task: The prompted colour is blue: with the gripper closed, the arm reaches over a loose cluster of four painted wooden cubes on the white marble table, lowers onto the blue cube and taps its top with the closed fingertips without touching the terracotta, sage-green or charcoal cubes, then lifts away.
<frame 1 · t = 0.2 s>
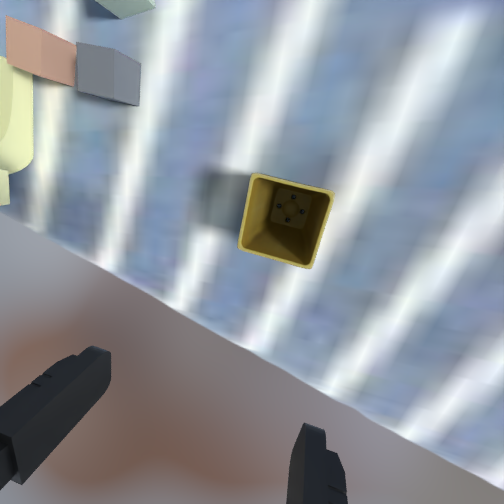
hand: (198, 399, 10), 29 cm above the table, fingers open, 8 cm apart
charcoal block: (123, 82, 35), on the table
flower pot: (289, 208, 36), on the table
terracotta block: (60, 60, 36), on the table
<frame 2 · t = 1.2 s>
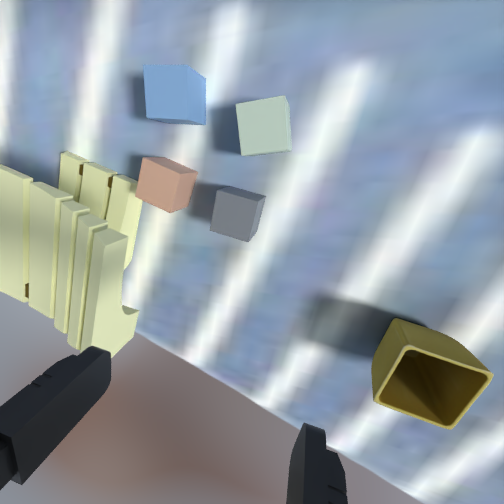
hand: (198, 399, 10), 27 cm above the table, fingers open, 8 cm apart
charcoal block: (243, 209, 35), on the table
blue block: (187, 101, 32), on the table
flower pot: (403, 336, 36), on the table
slatted curved stool: (100, 217, 41), on the table
terracotta block: (177, 182, 36), on the table
sage block: (269, 131, 32), on the table
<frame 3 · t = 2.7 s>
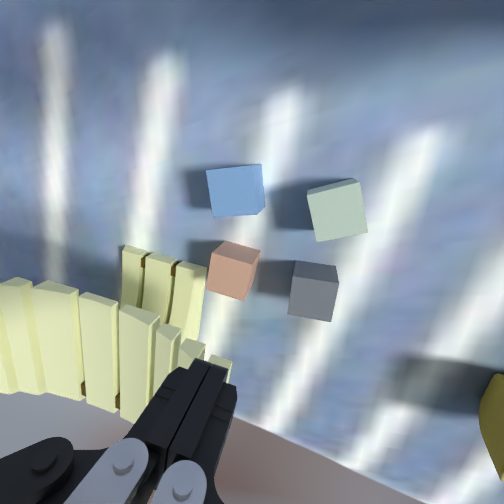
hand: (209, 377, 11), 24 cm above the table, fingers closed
charcoal block: (312, 280, 34), on the table
blue block: (243, 187, 32), on the table
slatted curved stool: (162, 301, 41), on the table
terracotta block: (239, 262, 36), on the table
sage block: (334, 205, 31), on the table
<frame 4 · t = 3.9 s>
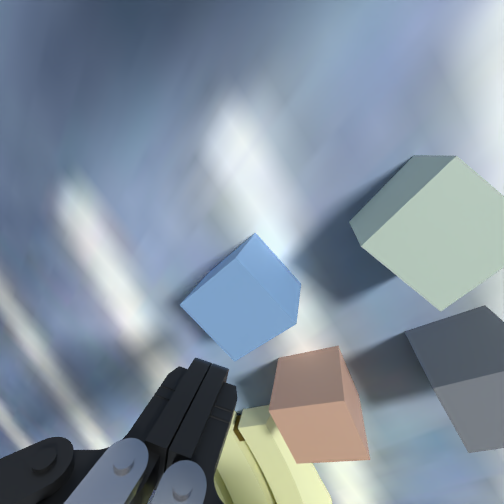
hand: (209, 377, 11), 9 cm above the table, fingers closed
charcoal block: (456, 346, 18), on the table
blue block: (253, 277, 20), on the table
slatted curved stool: (254, 467, 28), on the table
terracotta block: (318, 375, 22), on the table
sage block: (410, 216, 16), on the table
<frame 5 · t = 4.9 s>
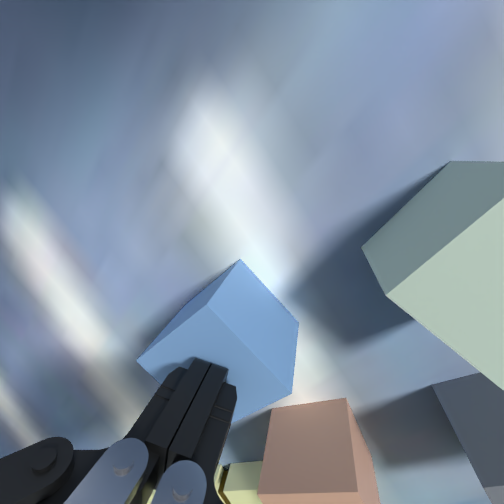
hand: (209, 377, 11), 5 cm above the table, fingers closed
charcoal block: (499, 405, 14), on the table
blue block: (239, 312, 16), on the table, touching gripper
terracotta block: (320, 430, 18), on the table
sage block: (443, 241, 12), on the table
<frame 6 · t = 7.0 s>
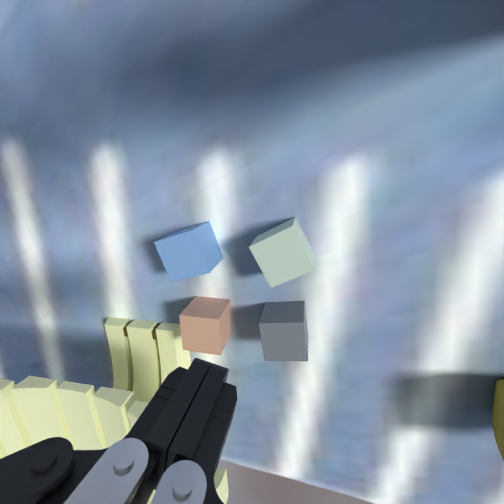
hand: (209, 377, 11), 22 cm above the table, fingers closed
charcoal block: (286, 318, 34), on the table
blue block: (199, 244, 34), on the table
slatted curved stool: (154, 363, 42), on the table
terracotta block: (214, 313, 36), on the table
sage block: (285, 244, 31), on the table
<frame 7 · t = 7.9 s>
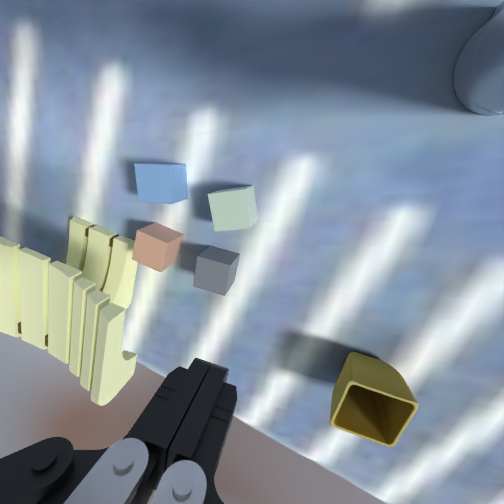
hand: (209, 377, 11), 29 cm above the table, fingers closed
charcoal block: (222, 263, 42), on the table
blue block: (171, 180, 40), on the table
flower pot: (360, 365, 43), on the table
slatted curved stool: (103, 267, 48), on the table
terracotta block: (166, 241, 43), on the table
sage block: (239, 204, 39), on the table
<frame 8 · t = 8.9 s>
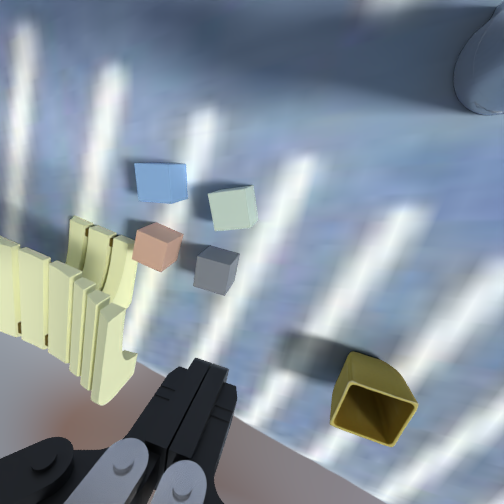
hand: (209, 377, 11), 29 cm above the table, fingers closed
charcoal block: (222, 263, 42), on the table
blue block: (171, 180, 40), on the table
flower pot: (360, 365, 43), on the table
slatted curved stool: (103, 267, 48), on the table
terracotta block: (166, 241, 43), on the table
sage block: (239, 204, 39), on the table
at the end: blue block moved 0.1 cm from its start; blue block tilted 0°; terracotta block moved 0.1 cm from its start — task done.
